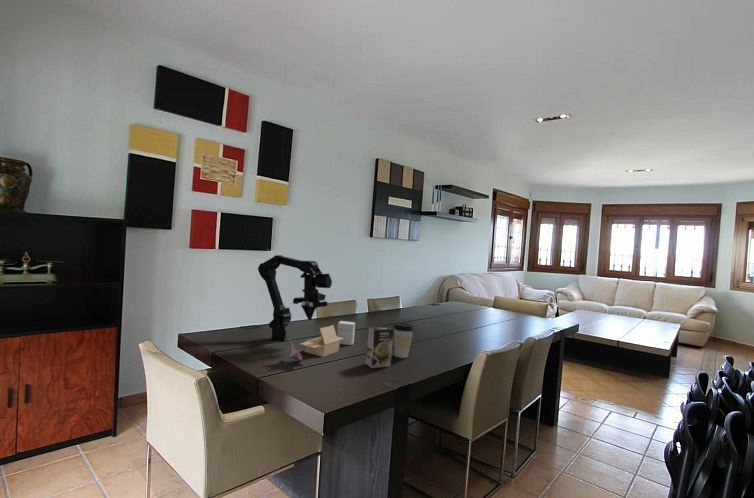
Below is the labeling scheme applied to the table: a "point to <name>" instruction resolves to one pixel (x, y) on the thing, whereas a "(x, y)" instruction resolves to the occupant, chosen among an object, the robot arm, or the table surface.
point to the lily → (295, 353)
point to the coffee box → (379, 347)
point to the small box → (346, 332)
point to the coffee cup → (402, 339)
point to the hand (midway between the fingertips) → (309, 319)
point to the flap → (328, 334)
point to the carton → (321, 346)
